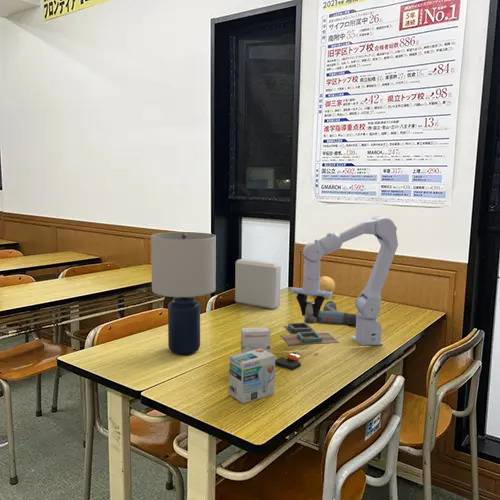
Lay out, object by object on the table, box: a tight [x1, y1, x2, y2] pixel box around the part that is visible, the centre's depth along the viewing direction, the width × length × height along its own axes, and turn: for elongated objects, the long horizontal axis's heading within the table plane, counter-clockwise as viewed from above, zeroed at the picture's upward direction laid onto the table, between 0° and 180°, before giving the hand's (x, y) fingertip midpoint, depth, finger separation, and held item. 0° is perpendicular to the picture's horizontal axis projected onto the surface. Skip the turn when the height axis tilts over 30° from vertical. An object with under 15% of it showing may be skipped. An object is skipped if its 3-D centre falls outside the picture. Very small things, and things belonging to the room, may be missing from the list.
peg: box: [303, 300, 317, 325], centre depth 164 cm, size 4×4×7 cm
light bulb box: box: [228, 348, 276, 404], centre depth 123 cm, size 11×7×11 cm, turn 126°
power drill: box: [316, 300, 357, 326], centre depth 193 cm, size 5×19×20 cm
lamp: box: [150, 231, 217, 356], centre depth 152 cm, size 20×20×39 cm
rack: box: [280, 331, 340, 347], centre depth 166 cm, size 10×18×2 cm, turn 102°
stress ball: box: [319, 275, 336, 294], centre depth 229 cm, size 10×10×10 cm
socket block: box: [282, 322, 316, 335], centre depth 176 cm, size 10×10×2 cm
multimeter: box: [275, 351, 319, 371], centre depth 150 cm, size 18×12×3 cm, turn 136°
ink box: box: [240, 326, 271, 353], centre depth 142 cm, size 9×5×12 cm, turn 96°
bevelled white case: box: [234, 258, 282, 310], centre depth 211 cm, size 21×8×20 cm, turn 58°
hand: (310, 316), depth 165 cm, fingers closed on peg, 4 cm apart
